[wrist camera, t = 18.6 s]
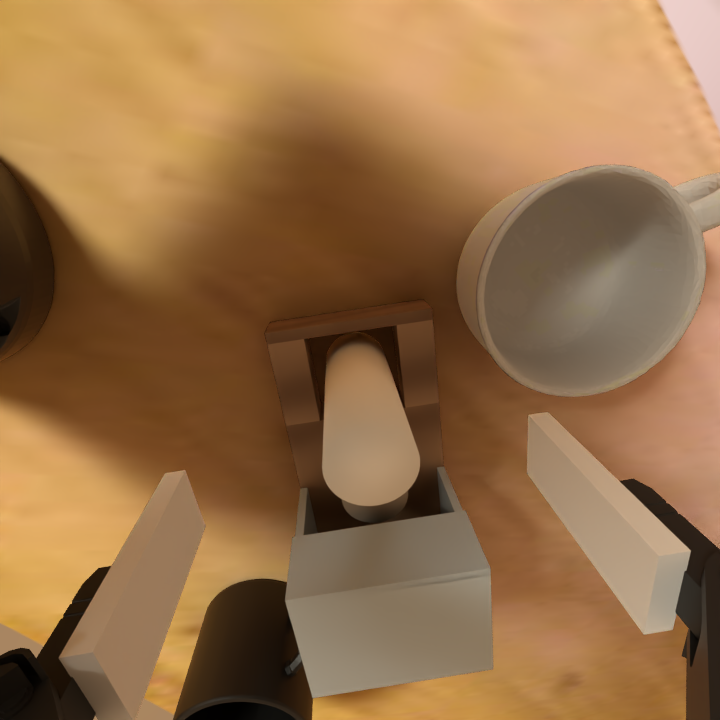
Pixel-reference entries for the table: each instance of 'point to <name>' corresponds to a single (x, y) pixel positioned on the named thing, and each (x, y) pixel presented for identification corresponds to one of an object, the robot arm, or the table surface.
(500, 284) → the teacup
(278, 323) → the wooden tray
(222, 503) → the table surface
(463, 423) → the table surface
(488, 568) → the cover
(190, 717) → the mug
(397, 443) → the pin
